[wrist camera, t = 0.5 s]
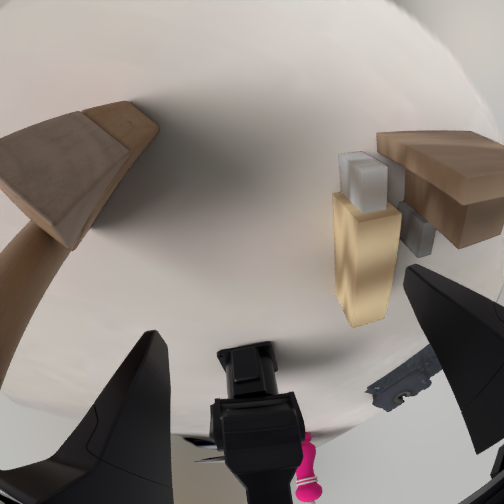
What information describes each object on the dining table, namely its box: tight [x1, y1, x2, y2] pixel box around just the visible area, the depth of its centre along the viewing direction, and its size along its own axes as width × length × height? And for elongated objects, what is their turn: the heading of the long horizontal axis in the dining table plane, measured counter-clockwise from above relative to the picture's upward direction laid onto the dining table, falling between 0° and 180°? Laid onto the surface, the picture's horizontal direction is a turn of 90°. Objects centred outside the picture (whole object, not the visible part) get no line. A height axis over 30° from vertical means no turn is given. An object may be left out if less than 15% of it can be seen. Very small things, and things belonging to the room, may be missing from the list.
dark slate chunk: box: [365, 344, 442, 412], centre depth 41 cm, size 15×22×5 cm
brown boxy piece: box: [377, 131, 504, 258], centre depth 17 cm, size 10×12×10 cm
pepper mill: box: [296, 432, 322, 504], centre depth 47 cm, size 7×7×20 cm
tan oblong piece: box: [332, 151, 402, 328], centre depth 21 cm, size 14×4×5 cm, turn 11°
